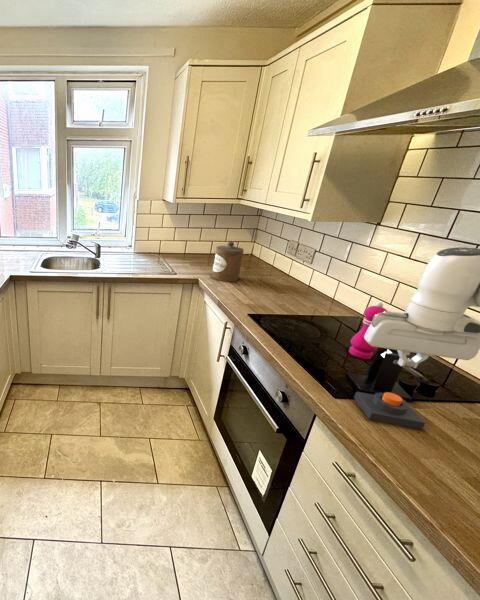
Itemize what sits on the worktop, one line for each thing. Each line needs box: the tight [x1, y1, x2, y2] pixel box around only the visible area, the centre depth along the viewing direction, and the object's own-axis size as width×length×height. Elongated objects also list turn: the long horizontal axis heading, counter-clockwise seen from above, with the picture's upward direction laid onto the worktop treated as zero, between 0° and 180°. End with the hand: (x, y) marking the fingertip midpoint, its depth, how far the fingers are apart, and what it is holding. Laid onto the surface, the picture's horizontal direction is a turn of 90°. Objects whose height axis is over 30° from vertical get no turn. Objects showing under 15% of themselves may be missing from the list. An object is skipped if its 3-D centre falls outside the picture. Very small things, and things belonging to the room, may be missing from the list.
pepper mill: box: [348, 301, 388, 360], centre depth 108 cm, size 7×7×20 cm
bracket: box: [346, 347, 413, 403], centre depth 92 cm, size 12×9×13 cm
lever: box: [381, 349, 430, 385], centre depth 90 cm, size 12×5×2 cm
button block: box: [353, 391, 426, 430], centre depth 84 cm, size 11×9×4 cm
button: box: [382, 392, 402, 406], centre depth 83 cm, size 4×4×2 cm
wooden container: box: [211, 241, 244, 282], centre depth 187 cm, size 15×15×22 cm
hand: (406, 366), depth 79 cm, fingers closed
